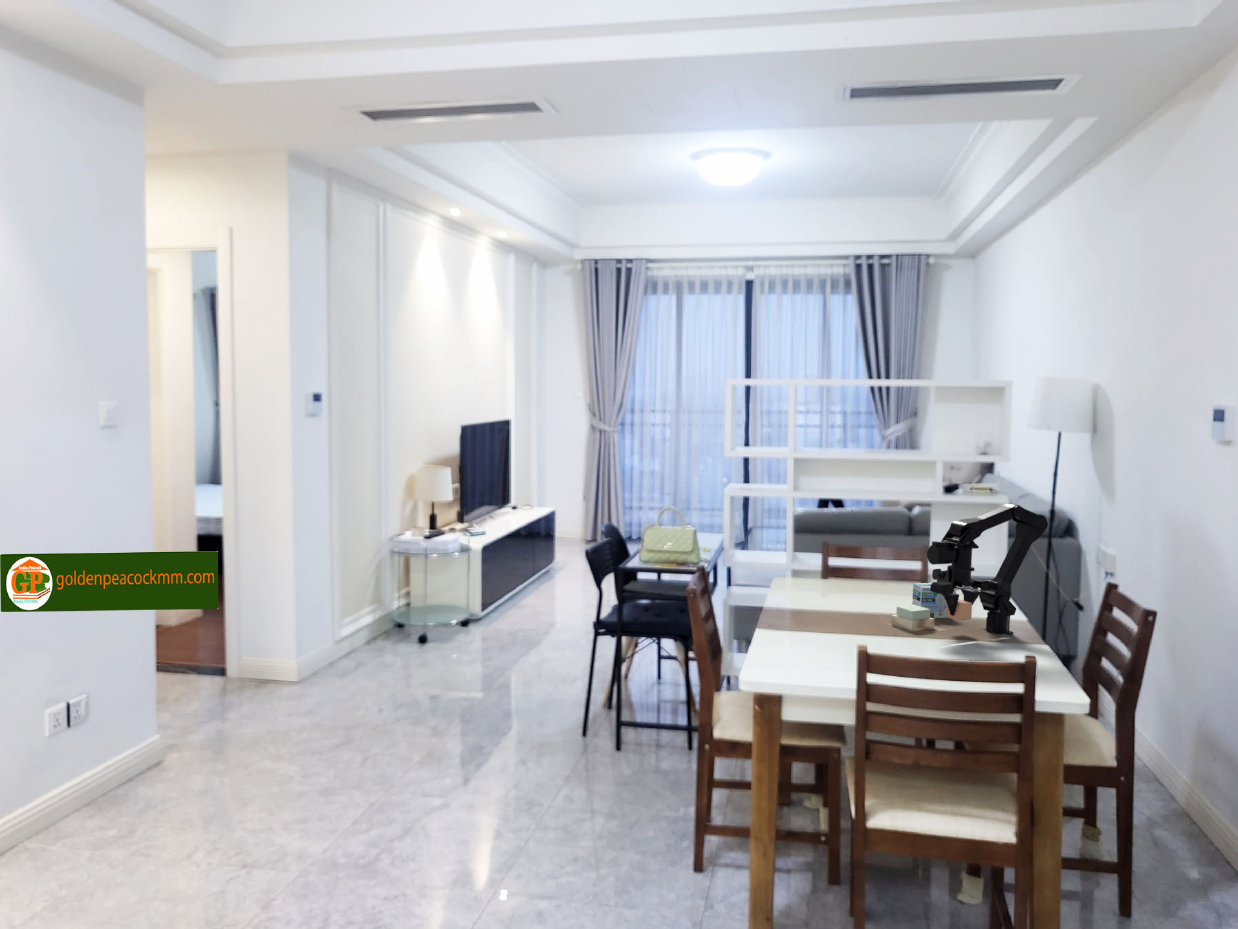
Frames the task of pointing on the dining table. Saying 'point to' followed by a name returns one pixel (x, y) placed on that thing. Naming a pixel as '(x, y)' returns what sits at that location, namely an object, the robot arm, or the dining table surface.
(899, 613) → the sage block
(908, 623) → the beech slab
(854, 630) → the dining table surface
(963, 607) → the terracotta cube
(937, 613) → the light bulb box
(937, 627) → the walnut board
